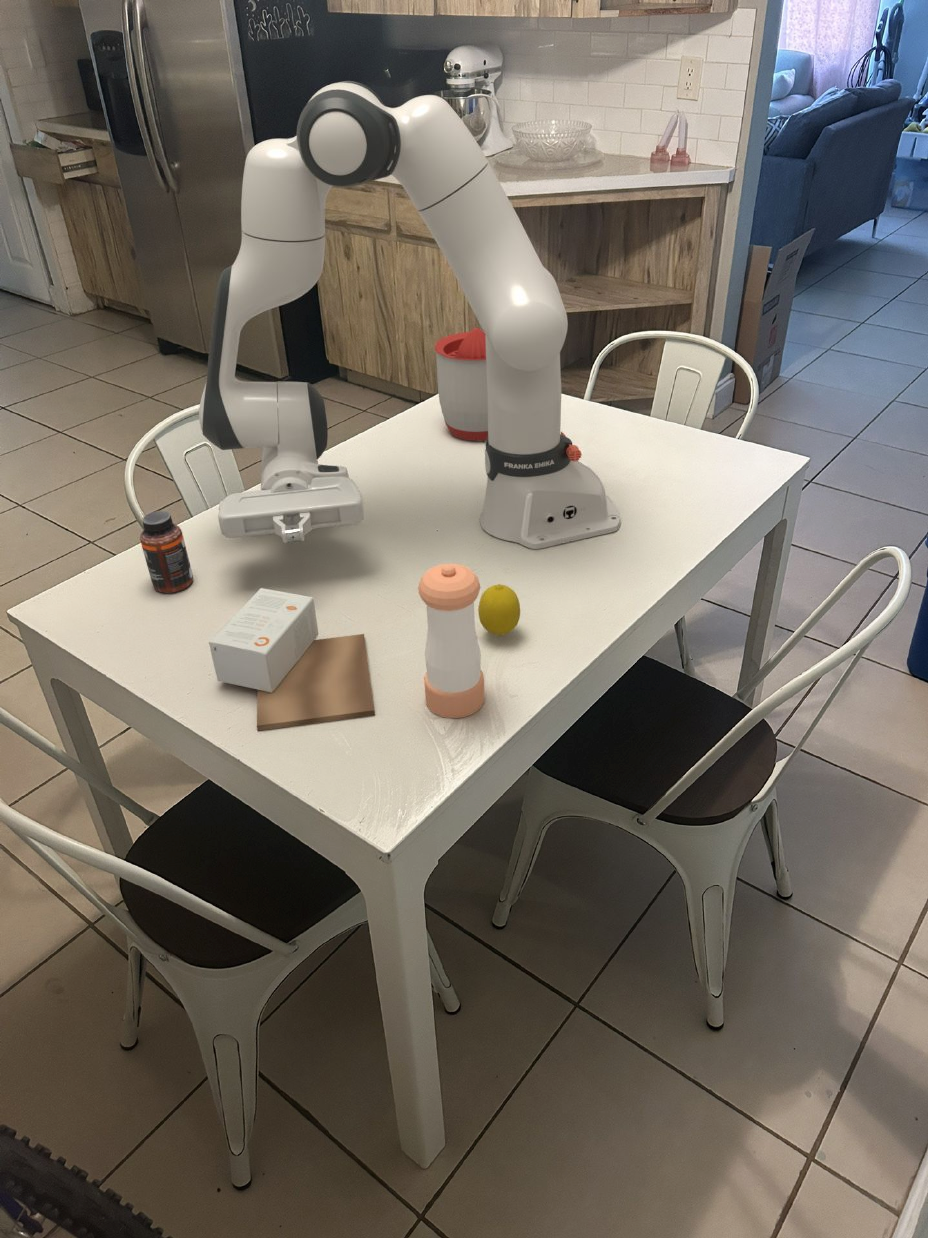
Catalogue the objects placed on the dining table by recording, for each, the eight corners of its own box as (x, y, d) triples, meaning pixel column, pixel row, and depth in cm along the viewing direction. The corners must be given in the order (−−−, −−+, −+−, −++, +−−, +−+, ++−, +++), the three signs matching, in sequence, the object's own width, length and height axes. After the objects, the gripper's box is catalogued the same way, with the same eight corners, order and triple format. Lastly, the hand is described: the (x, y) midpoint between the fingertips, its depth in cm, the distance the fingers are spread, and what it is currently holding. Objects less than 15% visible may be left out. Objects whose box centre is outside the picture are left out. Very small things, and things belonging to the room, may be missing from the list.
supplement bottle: (201, 576, 139) (186, 510, 133) (179, 597, 135) (162, 529, 128) (168, 570, 141) (151, 504, 134) (145, 591, 136) (126, 524, 130)
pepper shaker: (416, 711, 112) (405, 577, 101) (438, 675, 117) (430, 545, 106) (472, 724, 110) (467, 589, 99) (492, 687, 115) (490, 555, 104)
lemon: (516, 649, 122) (516, 598, 117) (475, 645, 123) (473, 595, 118) (523, 625, 126) (523, 575, 121) (483, 621, 127) (481, 572, 122)
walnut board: (364, 638, 125) (364, 633, 124) (374, 715, 112) (374, 710, 111) (259, 651, 123) (258, 647, 122) (257, 730, 110) (256, 725, 109)
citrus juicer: (499, 455, 170) (498, 348, 159) (423, 436, 178) (416, 333, 167) (541, 425, 181) (542, 323, 170) (467, 409, 189) (463, 310, 178)
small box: (267, 625, 127) (215, 681, 117) (260, 586, 123) (206, 641, 113) (320, 635, 124) (272, 694, 114) (314, 596, 121) (265, 653, 111)
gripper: (215, 479, 134) (211, 525, 123) (356, 465, 136) (364, 508, 125) (223, 518, 137) (219, 565, 126) (360, 503, 140) (368, 548, 129)
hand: (293, 537), depth 126 cm, fingers closed
